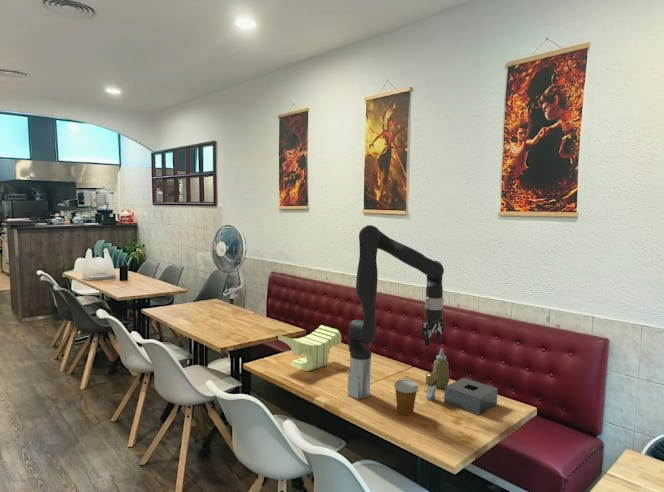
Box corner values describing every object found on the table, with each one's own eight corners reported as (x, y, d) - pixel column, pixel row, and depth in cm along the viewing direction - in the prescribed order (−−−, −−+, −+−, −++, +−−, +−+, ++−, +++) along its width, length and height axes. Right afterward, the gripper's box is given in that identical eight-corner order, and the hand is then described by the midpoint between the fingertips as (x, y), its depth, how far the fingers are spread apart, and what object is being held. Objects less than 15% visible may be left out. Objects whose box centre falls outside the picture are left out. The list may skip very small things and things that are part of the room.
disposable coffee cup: (411, 419, 170) (413, 389, 170) (389, 413, 175) (390, 384, 175) (420, 410, 178) (421, 382, 178) (399, 404, 183) (400, 377, 183)
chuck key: (432, 402, 187) (433, 377, 186) (423, 398, 190) (424, 374, 189) (438, 399, 190) (439, 374, 189) (429, 395, 194) (430, 371, 193)
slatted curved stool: (297, 377, 212) (298, 341, 211) (277, 368, 224) (278, 334, 222) (340, 363, 233) (341, 330, 232) (320, 356, 245) (321, 324, 243)
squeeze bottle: (452, 386, 205) (453, 349, 204) (443, 391, 199) (445, 352, 198) (436, 381, 211) (438, 345, 210) (428, 386, 205) (429, 348, 204)
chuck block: (479, 415, 175) (480, 398, 175) (444, 402, 187) (444, 386, 186) (496, 404, 187) (497, 388, 186) (462, 392, 198) (463, 377, 197)
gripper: (432, 311, 180) (431, 349, 181) (450, 306, 190) (448, 342, 191) (417, 308, 185) (416, 345, 187) (435, 303, 195) (434, 338, 197)
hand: (432, 343), depth 189 cm, fingers open, 8 cm apart
